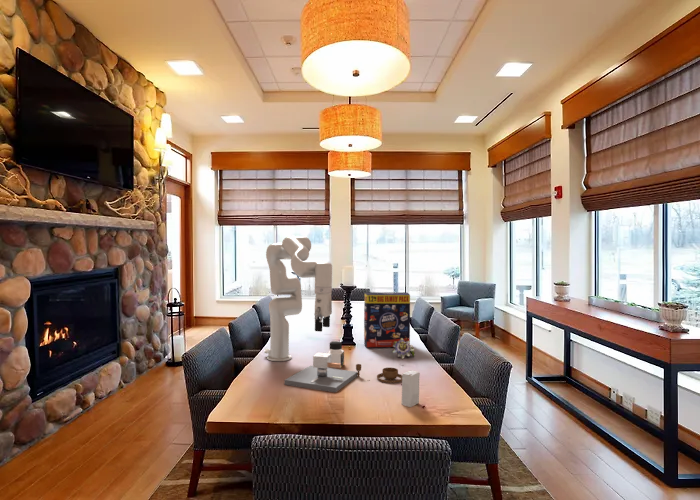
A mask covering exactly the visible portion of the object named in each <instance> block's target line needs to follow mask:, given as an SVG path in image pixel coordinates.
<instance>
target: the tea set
mask: <svg viewBox="0 0 700 500" xmlns="http://www.w3.org/2000/svg"><path fill="white" fill-rule="evenodd" d="M355 369H356V372H358V374H357V377H356V378H360V372H361V371H362V364H360V363H357V364H355ZM382 378H383V379H382ZM397 378H399V379H397ZM376 379H377V380H378V381H379V382H381V383H385V384H399V383H402V374H400V373H399V369H398V368H396V367H384V368H382V373H379V374H377V375H376ZM395 379H397V380H395ZM369 381H370V379H367V382H369Z"/></svg>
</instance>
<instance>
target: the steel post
mask: <svg viewBox="0 0 700 500" xmlns="http://www.w3.org/2000/svg"><path fill="white" fill-rule="evenodd" d="M317 376H318V377H327V369H326V368H317Z"/></svg>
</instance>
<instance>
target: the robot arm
mask: <svg viewBox="0 0 700 500" xmlns="http://www.w3.org/2000/svg"><path fill="white" fill-rule="evenodd" d="M311 250H312V241H311V240H310V238H309V237H307V236H305V235H304V236H303V235H302V236H301V235H296V236H295V235H292V236H291V235H289V236H287V237H285V238H284V239H283V240H282V242H276V243H272V244H269V245H268V246H267V247H266V251H265V258H266V262H267V264H268V267H269V282H270V284H269V286H270V291H271V293H272V295H275V296H283V295H284V296H285V295H288V297H287V296H286V297H275V298H273V299H271V300H270V302H269V303H268V312H269V320H270V327H269V329H270V340H269V341H270V345H269V346H270V348H265V349H264V354H268V355H267V357H266V358H267V360H269V361H271V362H285V361H290V360H291V359H292V358H293V356H292V355H291V354H290V351H289V350H290V325H289V324H290V323H289V321H288V320H287V319H286V317H287V316H296V315H300V313H301V312H302V309H303V298H302V284H301V282H300V279H299V278H305V279H308V278H309V279H310V278H314V295H315V299H314V313H313V314H314V331H315V332H319V333H321V332H323V327H324V328H330V327H331V326H330V325H331V323H330V322H331V315H332V313H333V309H332V308H333V306H332V304H333V303H332V302H333V301H332V300H333V299H332V294H333V291H332V289H333V288H332V287H333V265H332V263H331V262H326V261H323V260H308V258H309V256H310V251H311ZM283 260H290V266H291V269H292V271H293V272H294V273H295V274H296V275H297V277H296V276H288V275H287V267H286V266H285V264H284V262H283ZM298 277H299V278H298Z"/></svg>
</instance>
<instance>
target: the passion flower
mask: <svg viewBox="0 0 700 500" xmlns="http://www.w3.org/2000/svg"><path fill="white" fill-rule="evenodd" d="M409 343H411V340H410V341H407V342H404V340H403V338H401V339H400V340H399V341H397V342H396V341H395V342H394V343H393V344H395V345H393V347H395V348H394V349H393V350H392V351H391V353H392V354H395V353H396V357H397V358H401V359H402V360H403V359H404V358H405V357H406V356H407V357H410V354H411V356H412V357H413V358H414V357H415V349H414V347H413V346H414V345H412V344H410V345H409Z"/></svg>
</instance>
